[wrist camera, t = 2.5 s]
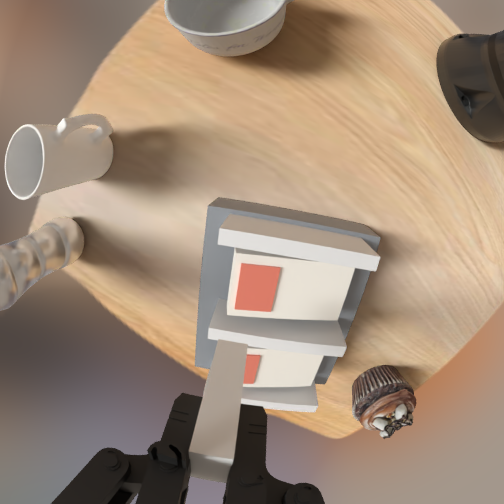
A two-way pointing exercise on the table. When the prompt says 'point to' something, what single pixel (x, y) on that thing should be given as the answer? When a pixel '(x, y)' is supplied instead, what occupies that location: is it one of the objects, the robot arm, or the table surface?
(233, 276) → the breaker
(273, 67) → the table surface
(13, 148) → the mug
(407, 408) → the cupcake
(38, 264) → the plastic bottle
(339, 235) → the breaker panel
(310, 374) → the block
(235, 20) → the teacup
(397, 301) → the table surface
